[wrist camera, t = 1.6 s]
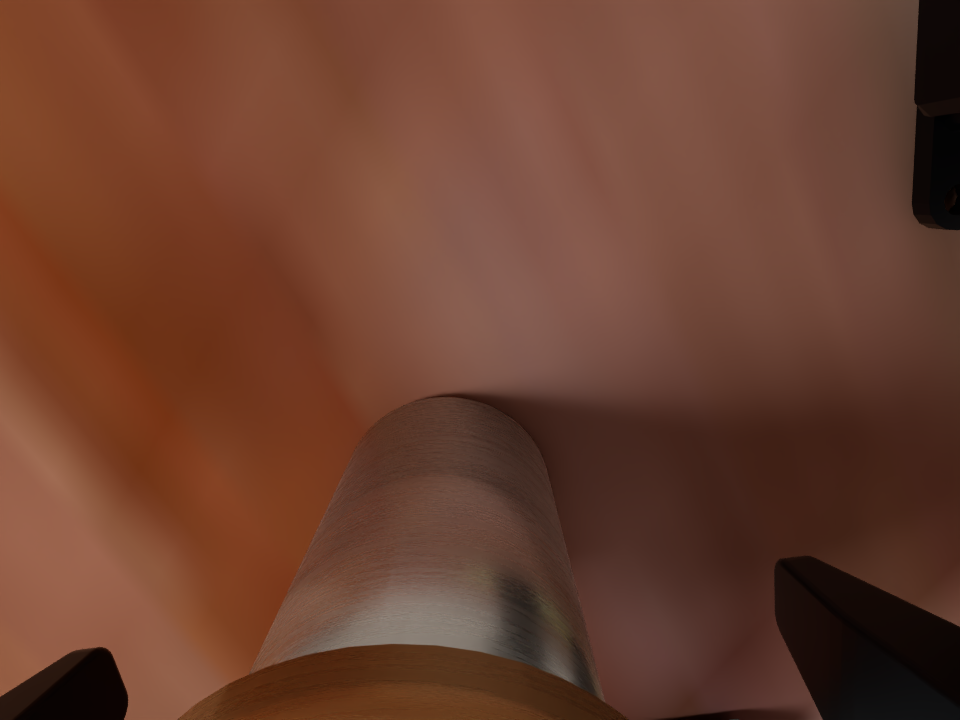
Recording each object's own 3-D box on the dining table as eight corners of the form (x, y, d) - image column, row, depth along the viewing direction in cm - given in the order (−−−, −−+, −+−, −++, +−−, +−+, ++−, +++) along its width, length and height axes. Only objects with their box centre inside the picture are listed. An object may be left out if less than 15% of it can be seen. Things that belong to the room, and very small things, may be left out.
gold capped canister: (560, 353, 11) (765, 755, 3) (586, 584, 12) (774, 1259, 4) (293, 391, 11) (-134, 863, 3) (349, 615, 12) (138, 1315, 5)
